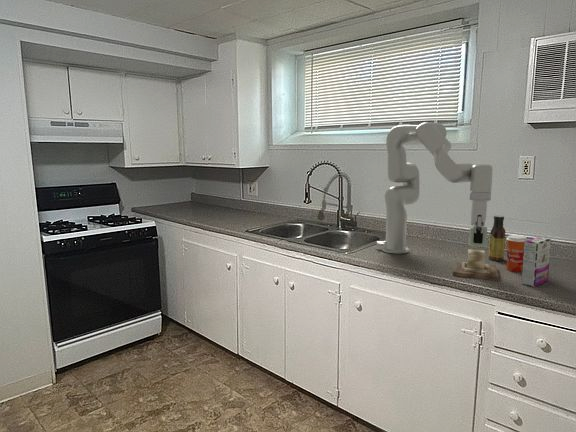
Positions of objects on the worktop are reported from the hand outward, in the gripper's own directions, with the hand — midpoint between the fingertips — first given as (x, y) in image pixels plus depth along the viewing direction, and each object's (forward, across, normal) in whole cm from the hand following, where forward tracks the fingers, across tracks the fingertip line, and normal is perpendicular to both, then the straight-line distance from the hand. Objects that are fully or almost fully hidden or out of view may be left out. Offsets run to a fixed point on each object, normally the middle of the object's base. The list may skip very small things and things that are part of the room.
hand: (477, 241), depth 166 cm
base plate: (+13, 0, 0) cm, 13 cm away
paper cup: (+13, -9, +15) cm, 22 cm away
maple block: (+11, 0, 0) cm, 11 cm away
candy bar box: (+13, +6, +20) cm, 24 cm away
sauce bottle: (+13, -24, +9) cm, 29 cm away
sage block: (+2, 0, 0) cm, 2 cm away
